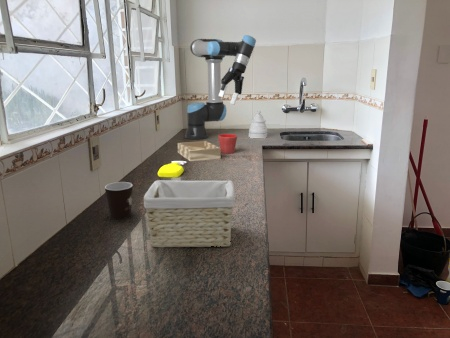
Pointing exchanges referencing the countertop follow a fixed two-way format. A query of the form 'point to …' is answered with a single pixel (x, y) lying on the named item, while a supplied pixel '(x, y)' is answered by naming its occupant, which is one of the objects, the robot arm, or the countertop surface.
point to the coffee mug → (119, 199)
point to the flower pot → (227, 143)
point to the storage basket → (190, 213)
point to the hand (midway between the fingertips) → (226, 100)
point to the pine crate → (199, 151)
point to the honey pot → (258, 127)
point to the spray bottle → (171, 169)
